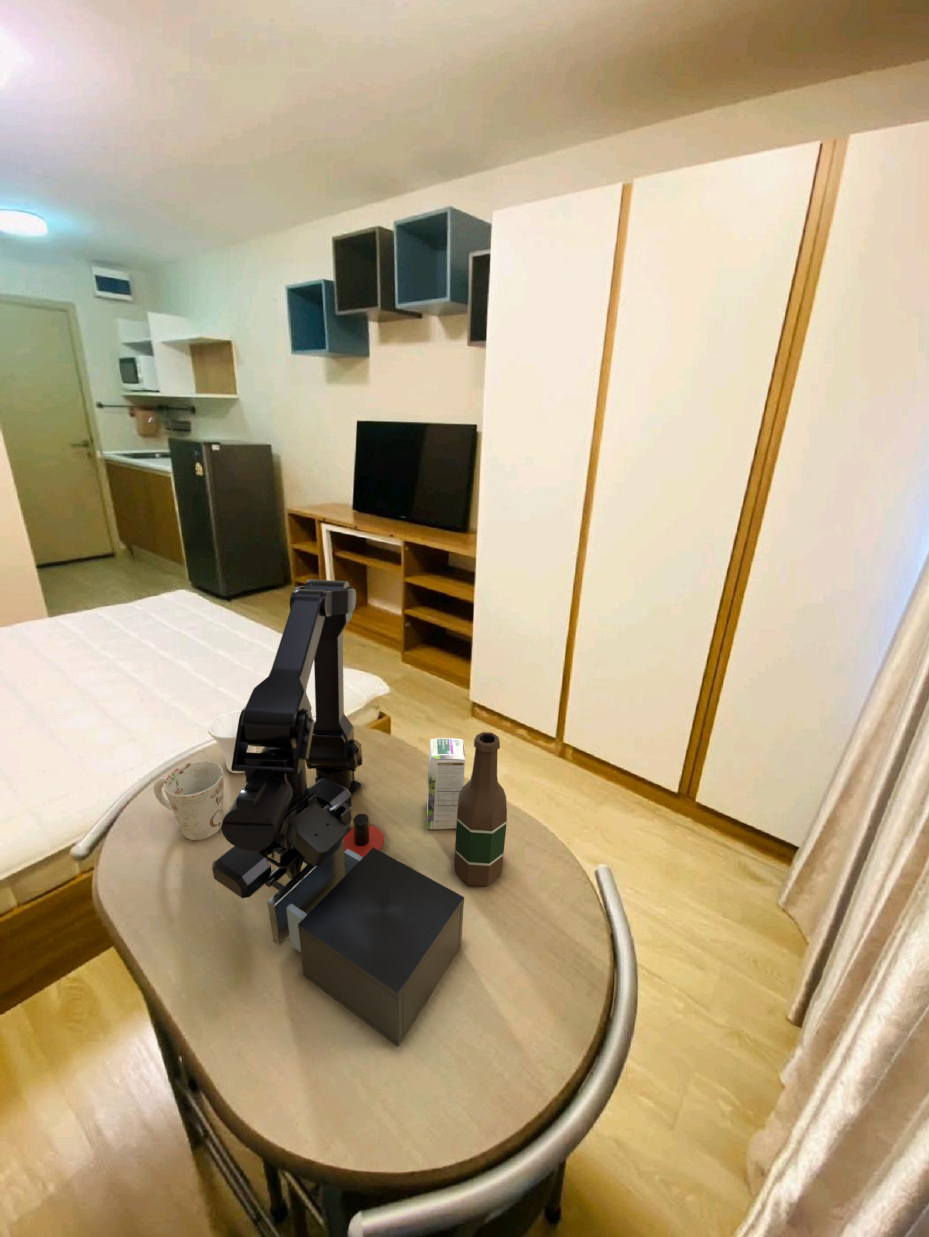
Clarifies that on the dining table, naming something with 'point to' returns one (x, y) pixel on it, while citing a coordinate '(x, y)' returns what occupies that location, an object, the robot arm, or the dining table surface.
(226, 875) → the robot arm
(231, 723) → the cup
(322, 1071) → the dining table surface
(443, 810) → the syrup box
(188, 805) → the mug
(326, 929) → the small cabinet
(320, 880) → the drawer
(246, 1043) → the dining table surface
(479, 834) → the beer bottle
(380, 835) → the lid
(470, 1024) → the dining table surface
